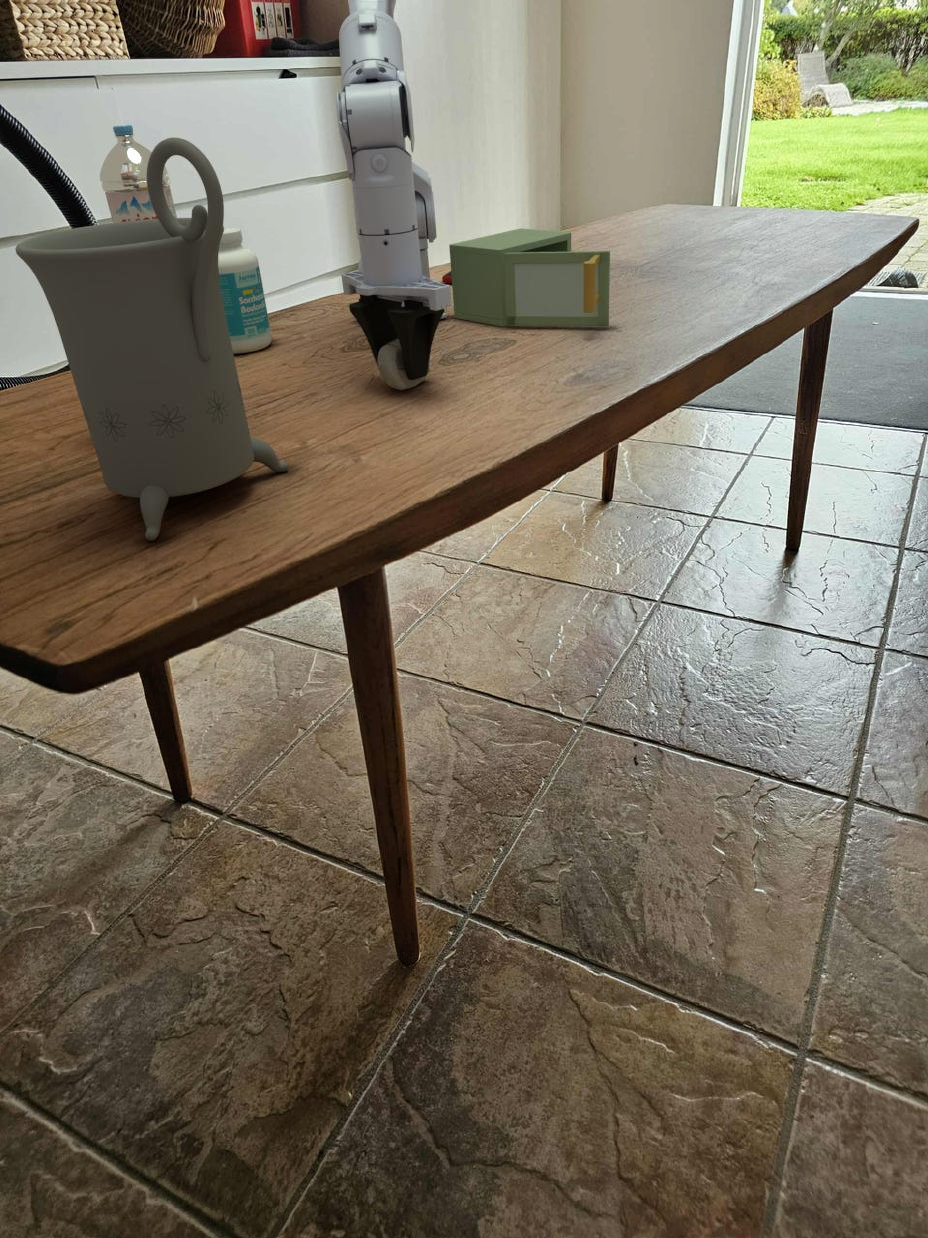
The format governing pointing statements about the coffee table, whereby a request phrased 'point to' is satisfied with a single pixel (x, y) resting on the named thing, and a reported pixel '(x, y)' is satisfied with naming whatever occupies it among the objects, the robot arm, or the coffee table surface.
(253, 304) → the pill bottle
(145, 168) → the water bottle
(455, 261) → the cabinet
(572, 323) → the cabinet door
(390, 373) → the fossil
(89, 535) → the coffee table surface
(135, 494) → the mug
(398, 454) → the coffee table surface
